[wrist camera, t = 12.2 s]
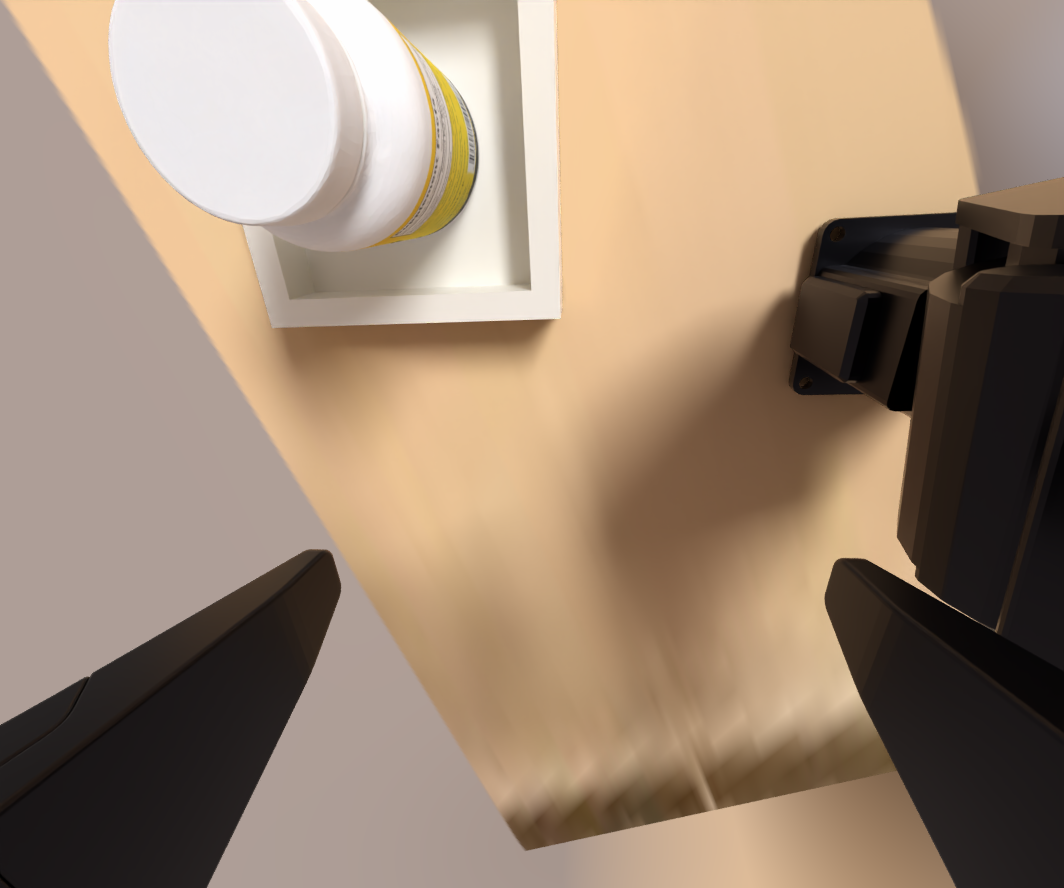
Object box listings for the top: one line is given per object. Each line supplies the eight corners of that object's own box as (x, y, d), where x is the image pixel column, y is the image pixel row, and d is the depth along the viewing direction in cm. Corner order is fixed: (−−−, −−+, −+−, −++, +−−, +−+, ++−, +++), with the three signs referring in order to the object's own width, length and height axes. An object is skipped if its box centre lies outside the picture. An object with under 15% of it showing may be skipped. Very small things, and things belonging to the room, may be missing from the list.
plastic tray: (555, -65, 14) (550, -116, 12) (562, 306, 19) (560, 318, 17) (219, -27, 15) (158, -67, 13) (305, 315, 20) (272, 327, 18)
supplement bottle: (309, 178, 17) (35, 142, 9) (374, 18, 15) (92, -249, 6) (435, 268, 18) (305, 319, 10) (513, 131, 16) (436, 35, 7)
